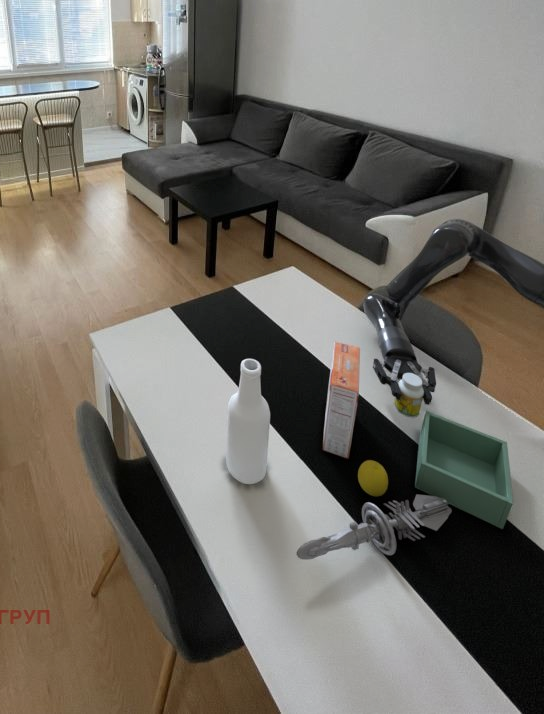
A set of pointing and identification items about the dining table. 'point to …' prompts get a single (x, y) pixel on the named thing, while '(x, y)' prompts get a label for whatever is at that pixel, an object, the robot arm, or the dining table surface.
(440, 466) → the open storage box
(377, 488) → the lemon
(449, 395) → the dining table surface
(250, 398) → the alcohol
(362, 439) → the dining table surface
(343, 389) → the cracker box
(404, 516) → the spaceship
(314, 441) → the dining table surface
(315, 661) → the dining table surface
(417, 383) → the supplement bottle
